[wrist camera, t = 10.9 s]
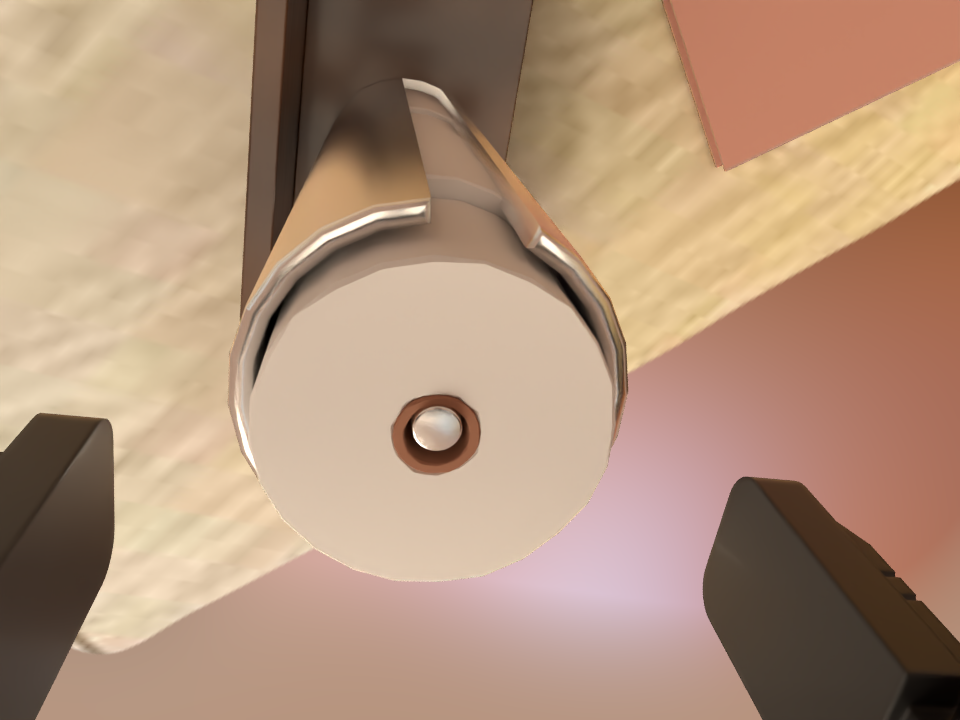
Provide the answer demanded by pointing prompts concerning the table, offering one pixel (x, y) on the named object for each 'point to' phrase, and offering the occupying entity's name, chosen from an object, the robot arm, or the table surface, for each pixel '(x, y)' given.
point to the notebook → (801, 62)
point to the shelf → (364, 84)
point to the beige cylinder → (424, 352)
